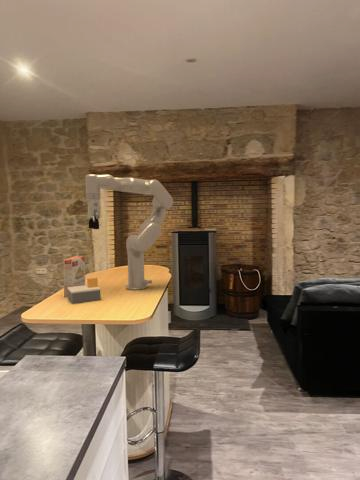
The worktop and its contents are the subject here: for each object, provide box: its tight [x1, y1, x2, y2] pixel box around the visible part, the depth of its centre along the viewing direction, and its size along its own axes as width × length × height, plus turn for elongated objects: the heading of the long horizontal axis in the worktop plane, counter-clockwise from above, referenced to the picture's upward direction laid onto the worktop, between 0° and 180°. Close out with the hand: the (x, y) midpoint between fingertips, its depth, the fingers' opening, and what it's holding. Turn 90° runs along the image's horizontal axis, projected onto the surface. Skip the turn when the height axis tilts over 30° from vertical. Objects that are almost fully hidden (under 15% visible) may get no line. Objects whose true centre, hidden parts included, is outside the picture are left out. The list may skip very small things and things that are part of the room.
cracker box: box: [62, 255, 86, 298], centre depth 192 cm, size 14×6×21 cm, turn 168°
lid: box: [67, 277, 102, 293], centre depth 181 cm, size 15×12×6 cm
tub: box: [67, 290, 101, 305], centre depth 181 cm, size 14×11×6 cm
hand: (93, 228), depth 194 cm, fingers open, 9 cm apart
